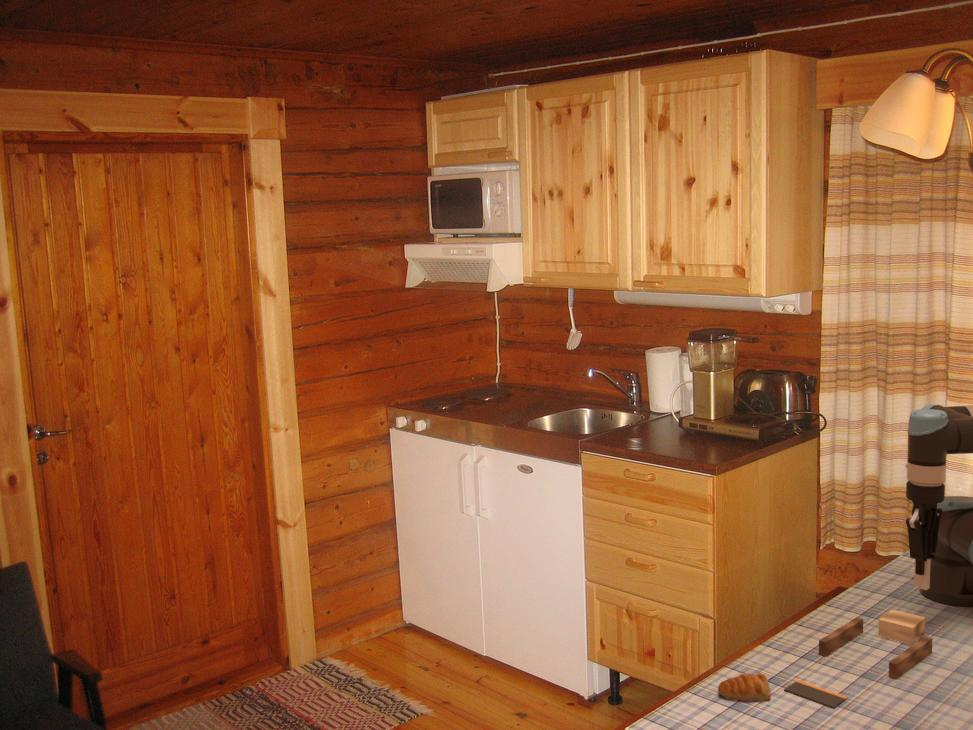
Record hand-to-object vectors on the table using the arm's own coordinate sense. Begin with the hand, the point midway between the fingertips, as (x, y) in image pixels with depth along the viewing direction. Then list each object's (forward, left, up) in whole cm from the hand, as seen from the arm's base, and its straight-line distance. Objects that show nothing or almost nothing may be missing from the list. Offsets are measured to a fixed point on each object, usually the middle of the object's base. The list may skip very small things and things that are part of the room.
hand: (921, 587), depth 210 cm
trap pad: (+46, 0, -8) cm, 46 cm away
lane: (+22, 0, -8) cm, 23 cm away
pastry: (+54, -9, -8) cm, 55 cm away
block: (+10, 0, -8) cm, 13 cm away
